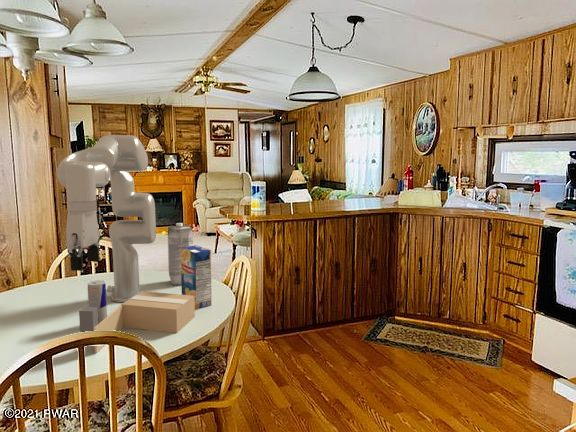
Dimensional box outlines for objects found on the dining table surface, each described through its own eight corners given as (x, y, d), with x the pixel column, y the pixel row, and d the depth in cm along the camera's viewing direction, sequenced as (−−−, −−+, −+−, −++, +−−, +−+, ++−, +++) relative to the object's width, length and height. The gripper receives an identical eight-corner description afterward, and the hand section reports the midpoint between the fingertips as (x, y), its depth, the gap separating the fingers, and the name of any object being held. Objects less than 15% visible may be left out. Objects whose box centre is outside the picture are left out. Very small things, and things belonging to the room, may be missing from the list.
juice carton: (194, 284, 195) (193, 224, 191) (170, 286, 191) (168, 225, 187) (191, 278, 203) (190, 221, 199) (168, 280, 200) (166, 222, 195)
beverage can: (106, 326, 147) (104, 284, 145) (88, 328, 146) (86, 285, 143) (108, 320, 152) (106, 279, 150) (91, 322, 151) (88, 280, 149)
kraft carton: (122, 326, 147) (121, 303, 146) (144, 312, 161) (143, 290, 159) (177, 332, 143) (176, 309, 142) (194, 317, 157) (194, 295, 155)
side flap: (109, 326, 147) (107, 290, 145) (123, 326, 147) (121, 290, 145) (81, 352, 128) (78, 310, 126) (96, 352, 128) (94, 311, 126)
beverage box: (196, 309, 164) (195, 252, 161) (181, 301, 172) (180, 247, 169) (211, 305, 169) (211, 250, 165) (196, 298, 177) (195, 245, 173)
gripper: (84, 203, 132) (87, 258, 134) (51, 211, 115) (56, 273, 117) (108, 203, 131) (111, 258, 134) (79, 211, 114) (83, 274, 117)
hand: (85, 265), depth 126 cm, fingers open, 9 cm apart
